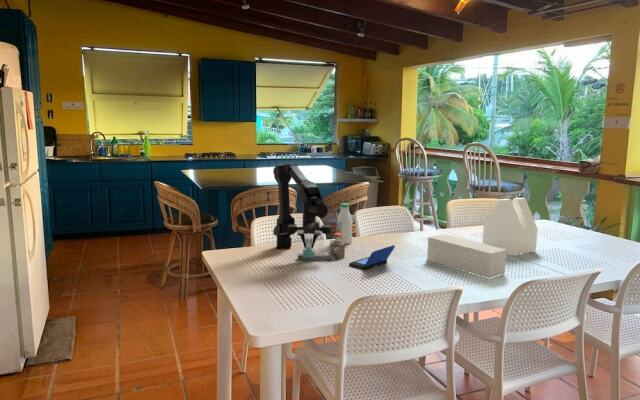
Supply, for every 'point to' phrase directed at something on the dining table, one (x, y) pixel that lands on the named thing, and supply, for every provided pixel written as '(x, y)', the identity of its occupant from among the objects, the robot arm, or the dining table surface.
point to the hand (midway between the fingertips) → (308, 248)
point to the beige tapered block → (511, 227)
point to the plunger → (337, 237)
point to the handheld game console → (373, 259)
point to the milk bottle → (344, 223)
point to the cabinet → (337, 249)
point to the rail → (317, 257)
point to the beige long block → (466, 255)
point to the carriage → (308, 249)
